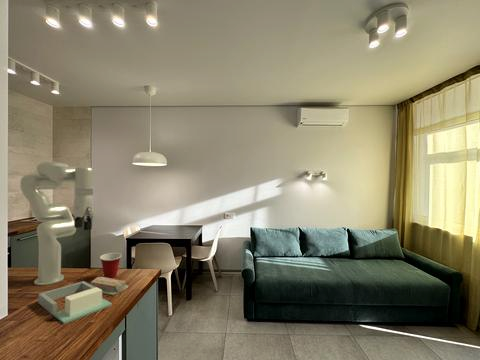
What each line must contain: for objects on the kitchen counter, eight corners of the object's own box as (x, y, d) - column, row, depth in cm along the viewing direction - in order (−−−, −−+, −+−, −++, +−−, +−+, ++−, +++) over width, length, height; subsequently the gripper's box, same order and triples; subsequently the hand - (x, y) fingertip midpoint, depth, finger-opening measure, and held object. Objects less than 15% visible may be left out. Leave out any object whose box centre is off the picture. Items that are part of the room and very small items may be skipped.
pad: (53, 315, 100) (53, 313, 100) (100, 298, 114) (100, 297, 114) (63, 323, 94) (63, 321, 94) (111, 305, 109) (111, 303, 109)
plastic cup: (101, 282, 133) (101, 259, 133) (97, 276, 141) (98, 254, 141) (123, 278, 139) (123, 256, 139) (118, 272, 148) (119, 251, 148)
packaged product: (129, 278, 127) (113, 286, 118) (128, 288, 127) (113, 296, 118) (101, 273, 133) (84, 280, 124) (101, 283, 133) (84, 290, 124)
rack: (38, 303, 109) (38, 293, 110) (83, 289, 124) (83, 281, 124) (52, 314, 100) (52, 304, 100) (99, 298, 115) (99, 289, 115)
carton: (64, 312, 101) (65, 296, 101) (96, 300, 111) (96, 287, 111) (70, 316, 98) (70, 300, 98) (101, 304, 108) (102, 290, 108)
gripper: (67, 192, 123) (66, 227, 123) (83, 193, 113) (82, 232, 113) (84, 192, 129) (83, 225, 129) (100, 193, 119) (100, 229, 119)
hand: (83, 228), depth 121 cm, fingers open, 9 cm apart
